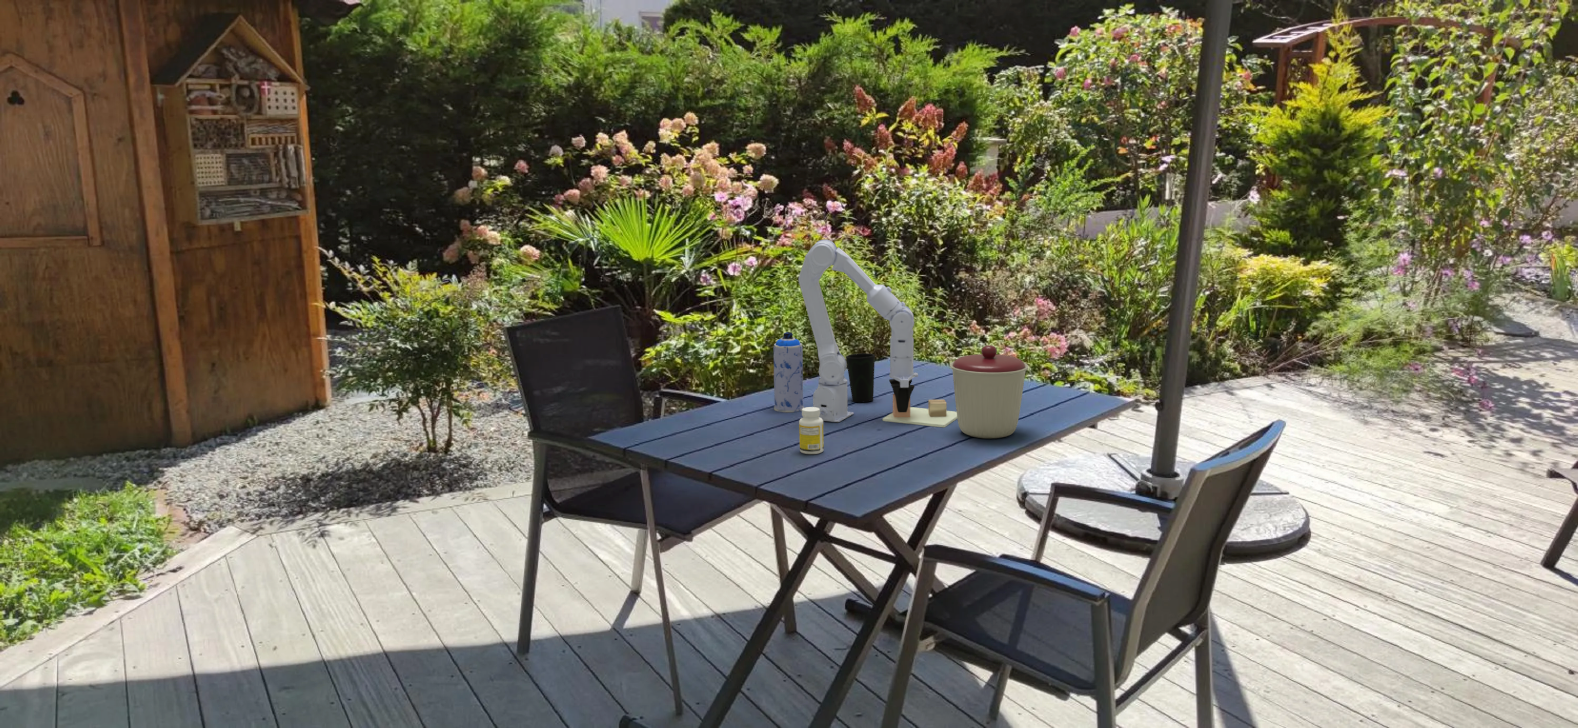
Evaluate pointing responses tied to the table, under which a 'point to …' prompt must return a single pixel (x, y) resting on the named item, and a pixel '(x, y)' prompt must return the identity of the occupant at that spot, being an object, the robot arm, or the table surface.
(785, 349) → the aerosol can
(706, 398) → the table surface
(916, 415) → the plate
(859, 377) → the cup
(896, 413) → the terracotta brick
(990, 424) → the canister
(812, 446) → the supplement bottle
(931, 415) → the beech brick
